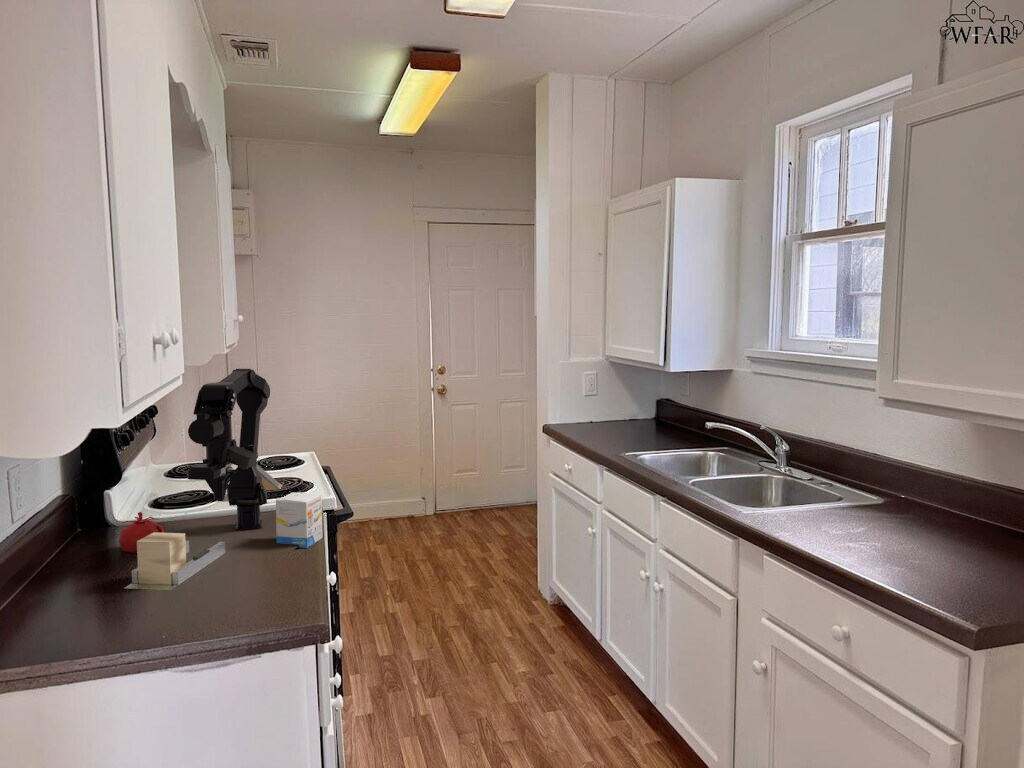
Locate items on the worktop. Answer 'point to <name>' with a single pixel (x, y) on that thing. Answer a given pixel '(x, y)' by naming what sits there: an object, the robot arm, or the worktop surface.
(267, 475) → the sandwich container
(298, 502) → the ink box
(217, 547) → the chute
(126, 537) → the pomegranate
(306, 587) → the worktop surface
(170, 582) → the block
